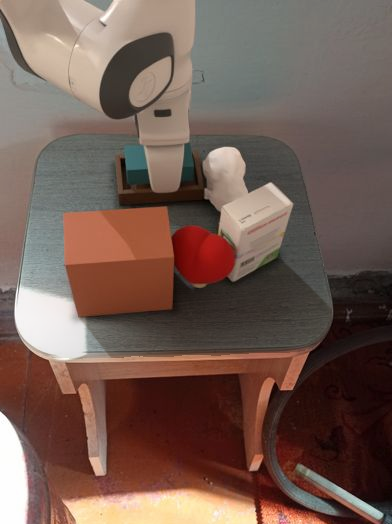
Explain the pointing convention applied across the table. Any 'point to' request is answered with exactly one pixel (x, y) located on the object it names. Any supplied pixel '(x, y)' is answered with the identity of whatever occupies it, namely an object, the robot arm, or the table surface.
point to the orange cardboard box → (119, 260)
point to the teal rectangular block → (139, 169)
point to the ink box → (255, 228)
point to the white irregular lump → (224, 176)
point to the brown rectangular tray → (146, 194)
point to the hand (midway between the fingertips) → (158, 168)
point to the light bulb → (201, 255)
